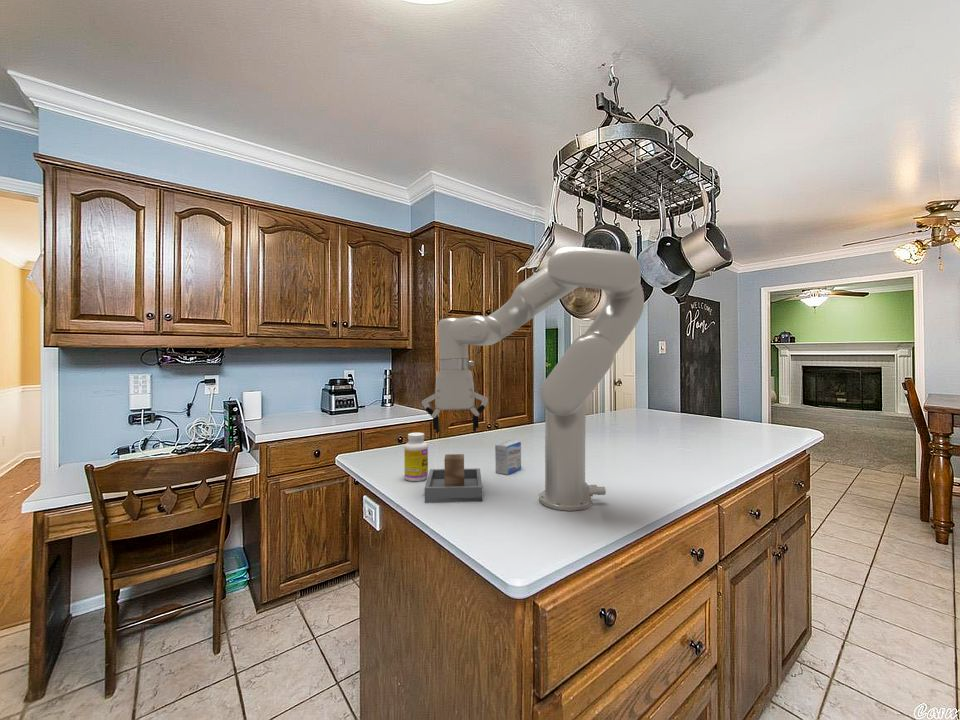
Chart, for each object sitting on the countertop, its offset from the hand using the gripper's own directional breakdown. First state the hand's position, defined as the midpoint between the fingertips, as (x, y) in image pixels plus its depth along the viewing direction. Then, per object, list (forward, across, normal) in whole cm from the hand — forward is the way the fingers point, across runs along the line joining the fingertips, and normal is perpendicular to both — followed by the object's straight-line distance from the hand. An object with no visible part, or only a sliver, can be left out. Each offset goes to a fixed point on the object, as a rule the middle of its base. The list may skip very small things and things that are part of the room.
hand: (456, 431), depth 107 cm
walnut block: (+15, +1, 0) cm, 15 cm away
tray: (+16, +1, 0) cm, 16 cm away
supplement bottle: (+15, +12, -12) cm, 23 cm away
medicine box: (+16, -15, -17) cm, 28 cm away
